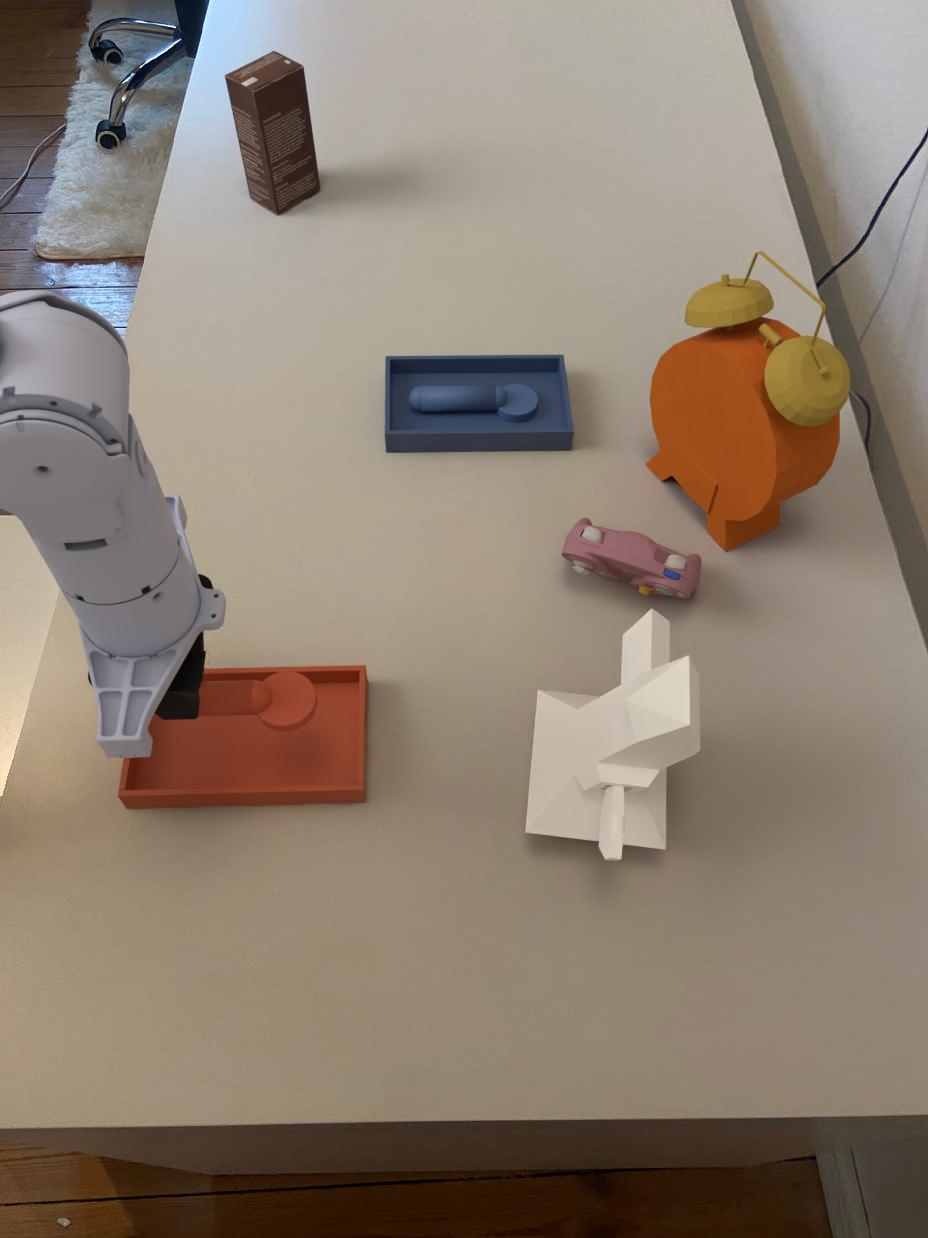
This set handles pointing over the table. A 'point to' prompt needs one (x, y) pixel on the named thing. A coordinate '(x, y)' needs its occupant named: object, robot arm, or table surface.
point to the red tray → (258, 751)
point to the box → (274, 130)
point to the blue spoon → (478, 400)
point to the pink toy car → (631, 559)
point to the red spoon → (262, 700)
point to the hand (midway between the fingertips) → (182, 696)
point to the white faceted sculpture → (615, 747)
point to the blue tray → (476, 427)
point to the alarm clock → (746, 408)
